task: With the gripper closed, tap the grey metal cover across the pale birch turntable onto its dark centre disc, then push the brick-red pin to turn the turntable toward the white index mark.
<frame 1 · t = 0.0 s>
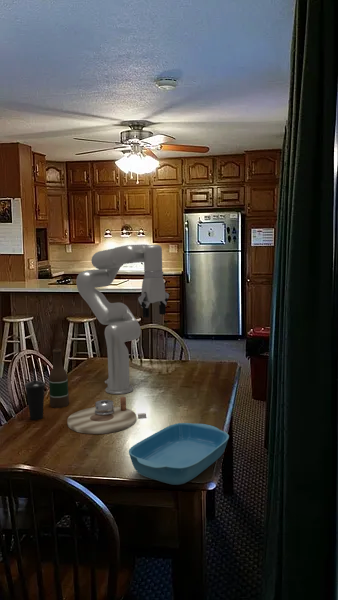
hand: (154, 315, 218), 37 cm above the table, tool pointing down, fingers open, 9 cm apart
cover: (104, 412, 205), point 2 cm above the table, touching turntable
drinking cup: (36, 418, 205), on the table
beer bottle: (59, 405, 220), on the table
turntable: (101, 412, 199), point 3 cm above the table, hinge at -0.4°, touching cover
casserole dish: (180, 464, 161), on the table
index mark: (142, 417, 203), on the table
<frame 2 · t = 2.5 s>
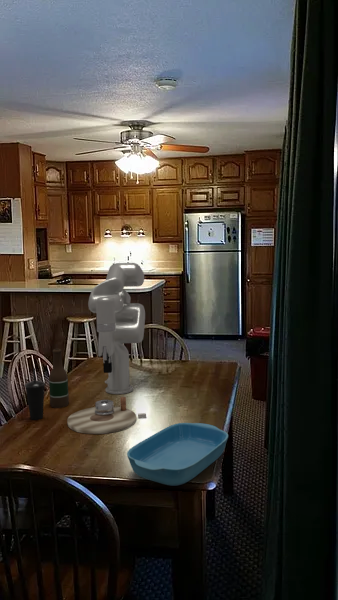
hand: (107, 372, 212), 15 cm above the table, tool pointing down, fingers closed
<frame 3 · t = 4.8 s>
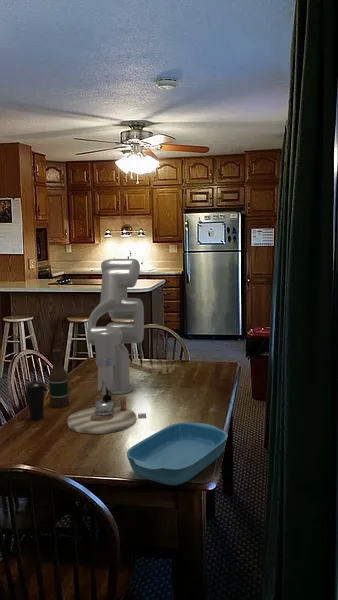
hand: (107, 405, 210), 2 cm above the table, tool pointing down, fingers closed
cover: (104, 412, 205), point 2 cm above the table, touching gripper, turntable
everything else where it was.
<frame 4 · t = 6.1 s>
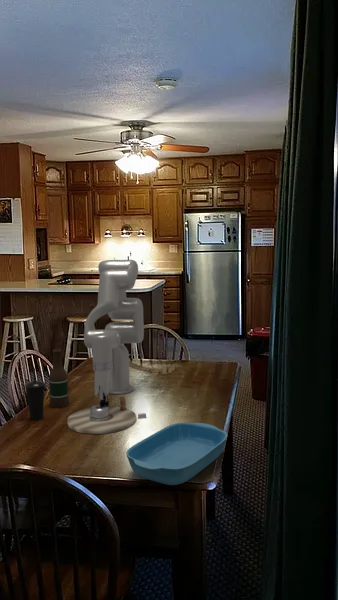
hand: (104, 411, 204), 2 cm above the table, tool pointing down, fingers closed
cover: (99, 418, 199), point 2 cm above the table, touching gripper, turntable
turntable: (101, 412, 199), point 3 cm above the table, hinge at 0.5°, touching cover
everything else where it was.
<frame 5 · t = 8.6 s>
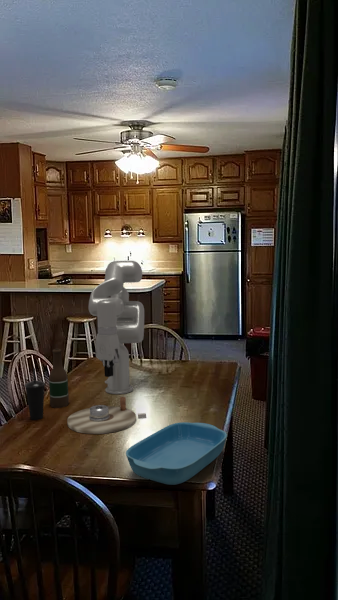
hand: (108, 376, 209), 15 cm above the table, tool pointing down, fingers closed
cover: (99, 418, 198), point 2 cm above the table, touching turntable
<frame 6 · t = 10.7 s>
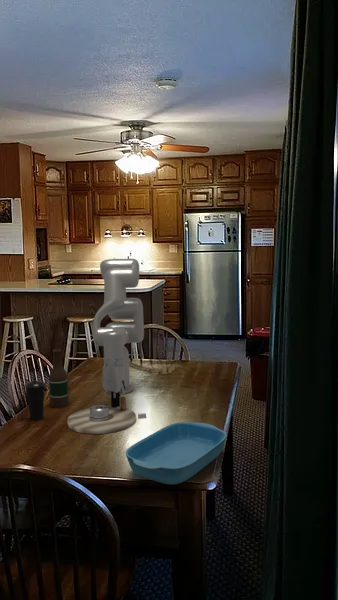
hand: (115, 406, 209), 2 cm above the table, tool pointing down, fingers closed
turntable: (101, 412, 199), point 3 cm above the table, hinge at -0.1°, touching cover, gripper
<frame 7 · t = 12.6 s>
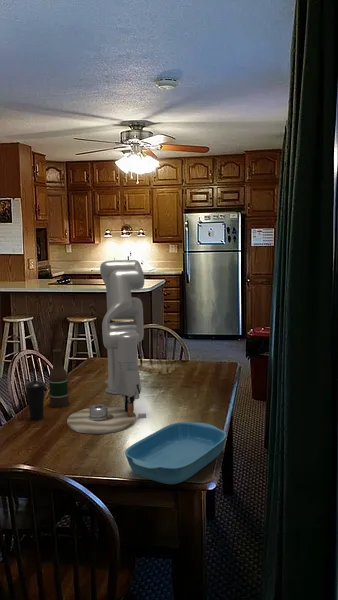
hand: (129, 411, 203), 2 cm above the table, tool pointing down, fingers closed
turntable: (101, 412, 199), point 3 cm above the table, hinge at -42.7°, touching cover
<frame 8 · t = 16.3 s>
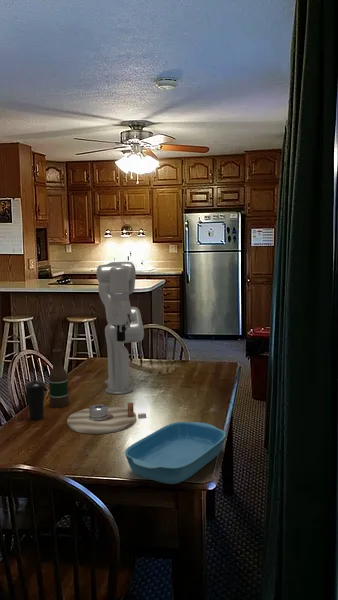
hand: (121, 340, 216), 27 cm above the table, tool pointing down, fingers closed
at the end: cover 1.1 cm from the turntable (horizontally); turntable at -43° (first picture: +0°); cover tilted 0° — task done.
